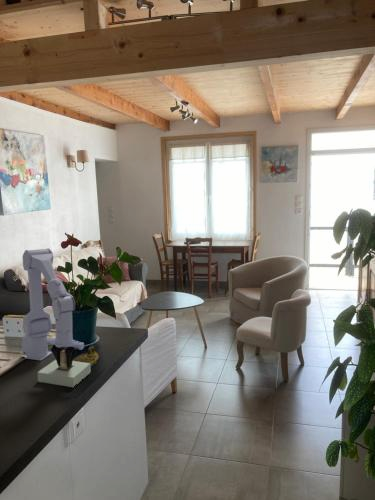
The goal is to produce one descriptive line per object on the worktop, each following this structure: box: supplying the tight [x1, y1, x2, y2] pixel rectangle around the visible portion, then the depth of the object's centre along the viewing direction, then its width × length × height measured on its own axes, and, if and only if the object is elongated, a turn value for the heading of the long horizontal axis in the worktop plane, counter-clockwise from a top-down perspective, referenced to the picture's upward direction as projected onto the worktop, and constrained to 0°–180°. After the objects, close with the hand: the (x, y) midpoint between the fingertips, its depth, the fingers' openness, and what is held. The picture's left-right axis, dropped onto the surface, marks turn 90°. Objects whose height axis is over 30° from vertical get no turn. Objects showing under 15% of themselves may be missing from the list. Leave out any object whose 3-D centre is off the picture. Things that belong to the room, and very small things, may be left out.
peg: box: [60, 349, 70, 371], centre depth 143 cm, size 3×3×7 cm
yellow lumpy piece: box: [73, 345, 100, 367], centre depth 157 cm, size 9×5×15 cm
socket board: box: [37, 359, 92, 388], centre depth 144 cm, size 14×12×4 cm
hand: (64, 365), depth 143 cm, fingers closed on peg, 3 cm apart
